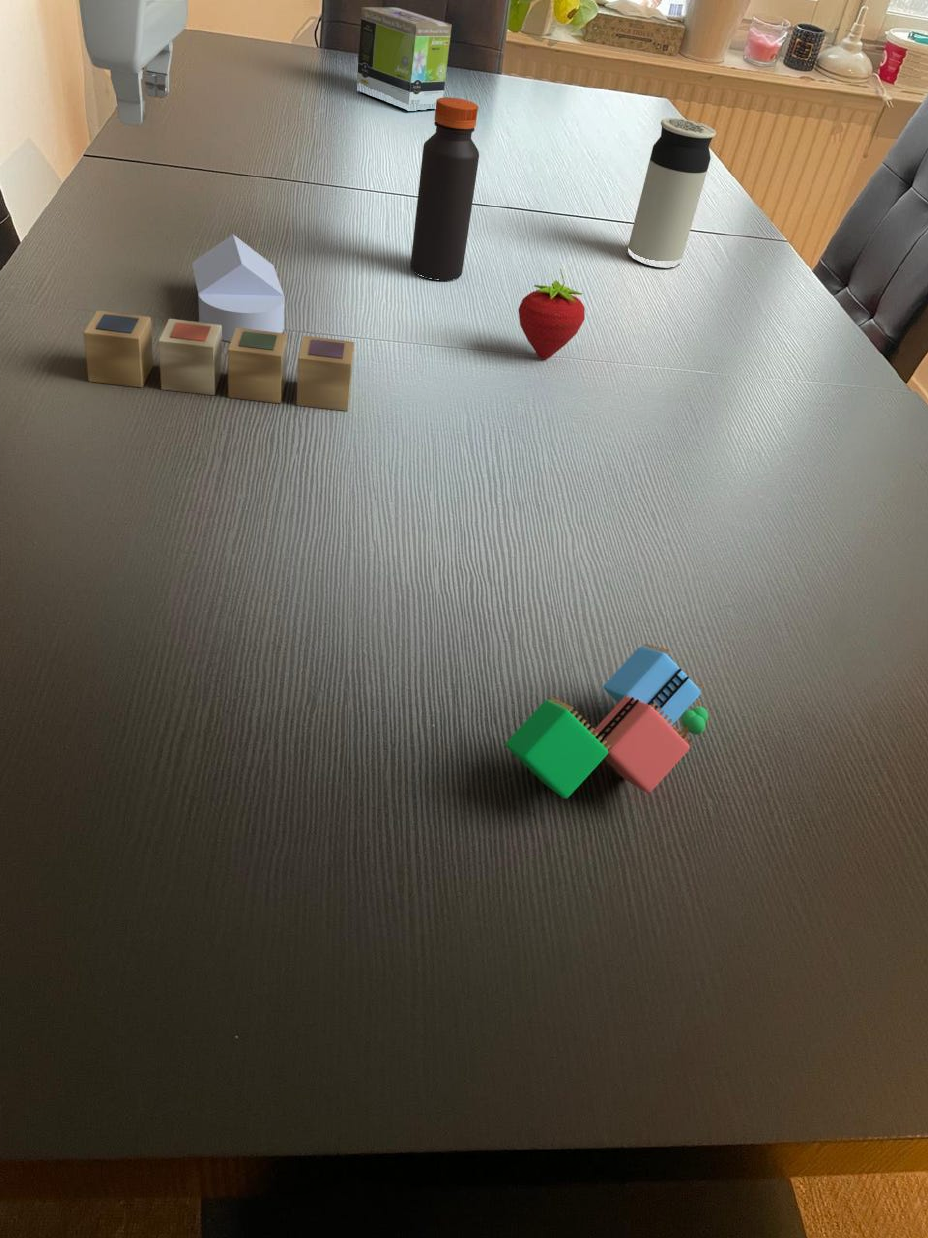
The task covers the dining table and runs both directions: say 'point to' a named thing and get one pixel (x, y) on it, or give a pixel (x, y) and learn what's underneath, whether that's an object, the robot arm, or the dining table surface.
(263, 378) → the beech block
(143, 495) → the dining table surface
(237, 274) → the wedge on round base
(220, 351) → the maple block
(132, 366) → the beech block
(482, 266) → the dining table surface
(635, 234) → the travel mug
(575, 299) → the strawberry
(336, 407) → the beech block
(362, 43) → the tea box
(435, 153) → the bottle
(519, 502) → the dining table surface
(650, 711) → the building blocks
